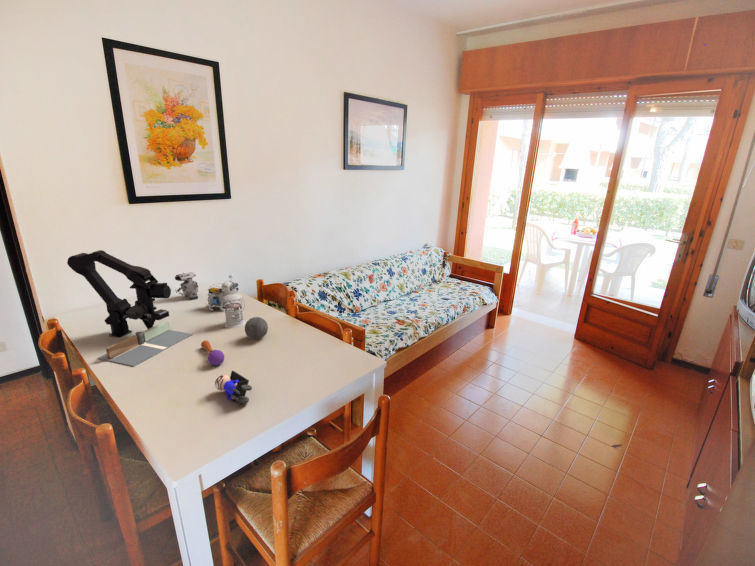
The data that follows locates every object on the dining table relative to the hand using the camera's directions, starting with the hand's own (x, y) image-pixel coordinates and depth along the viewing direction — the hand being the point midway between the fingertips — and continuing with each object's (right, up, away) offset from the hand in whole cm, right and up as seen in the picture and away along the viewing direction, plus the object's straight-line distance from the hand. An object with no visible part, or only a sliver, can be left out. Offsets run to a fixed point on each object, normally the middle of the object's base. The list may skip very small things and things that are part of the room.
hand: (150, 330), depth 166 cm
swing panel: (+4, -2, -1) cm, 5 cm away
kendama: (+35, -9, -16) cm, 40 cm away
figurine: (-7, +12, +46) cm, 48 cm away
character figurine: (+54, -17, -41) cm, 71 cm away
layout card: (+5, -5, -10) cm, 12 cm away
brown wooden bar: (0, -6, -15) cm, 16 cm away
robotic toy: (+19, +8, +34) cm, 40 cm away
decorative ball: (+48, -4, +1) cm, 48 cm away
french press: (+33, +1, +16) cm, 36 cm away
